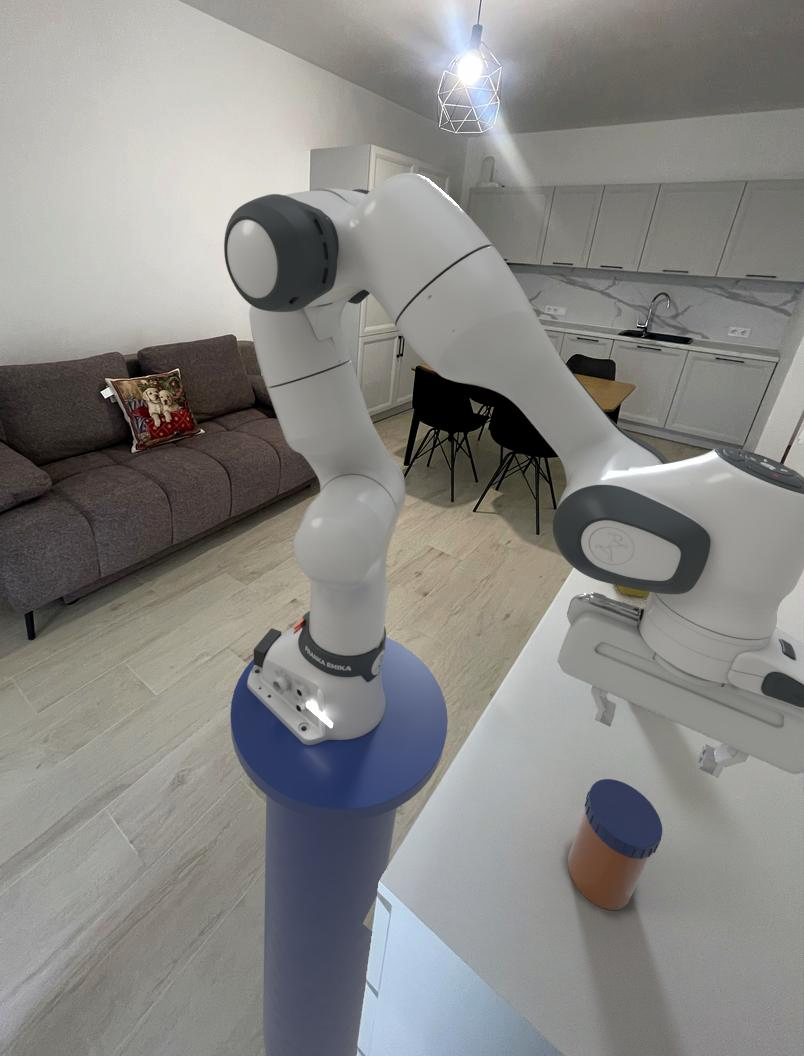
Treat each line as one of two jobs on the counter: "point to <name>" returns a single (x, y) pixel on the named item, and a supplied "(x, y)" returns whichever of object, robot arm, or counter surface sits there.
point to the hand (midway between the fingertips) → (652, 742)
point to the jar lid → (623, 818)
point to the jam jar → (602, 869)
